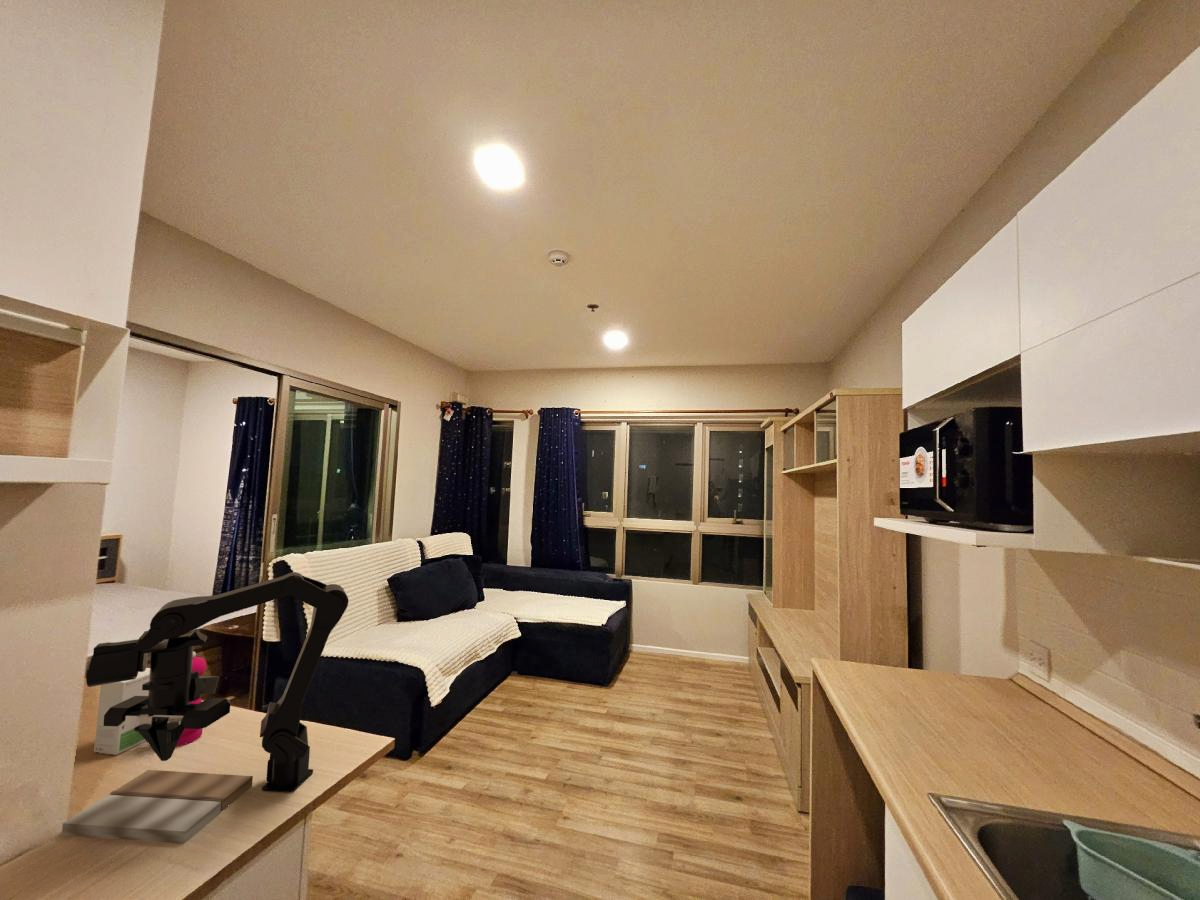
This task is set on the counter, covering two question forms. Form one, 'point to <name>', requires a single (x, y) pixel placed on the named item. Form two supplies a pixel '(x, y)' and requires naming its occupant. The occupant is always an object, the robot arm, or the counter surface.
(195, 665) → the pepper mill
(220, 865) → the counter surface
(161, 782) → the walnut plank
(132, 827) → the grey plank
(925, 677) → the counter surface
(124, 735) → the skincare box
